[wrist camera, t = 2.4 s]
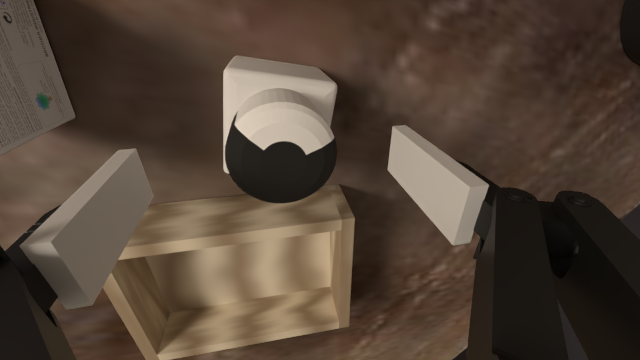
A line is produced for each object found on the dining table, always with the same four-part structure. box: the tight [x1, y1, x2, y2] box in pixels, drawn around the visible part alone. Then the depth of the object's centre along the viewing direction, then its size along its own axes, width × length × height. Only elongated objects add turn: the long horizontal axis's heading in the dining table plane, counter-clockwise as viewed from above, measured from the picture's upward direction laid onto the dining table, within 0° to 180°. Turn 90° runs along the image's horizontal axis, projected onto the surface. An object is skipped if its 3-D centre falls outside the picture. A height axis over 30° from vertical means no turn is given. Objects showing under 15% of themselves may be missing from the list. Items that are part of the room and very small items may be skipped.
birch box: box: [103, 184, 355, 360], centre depth 30 cm, size 22×16×6 cm
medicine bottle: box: [223, 55, 337, 203], centre depth 20 cm, size 7×7×12 cm
